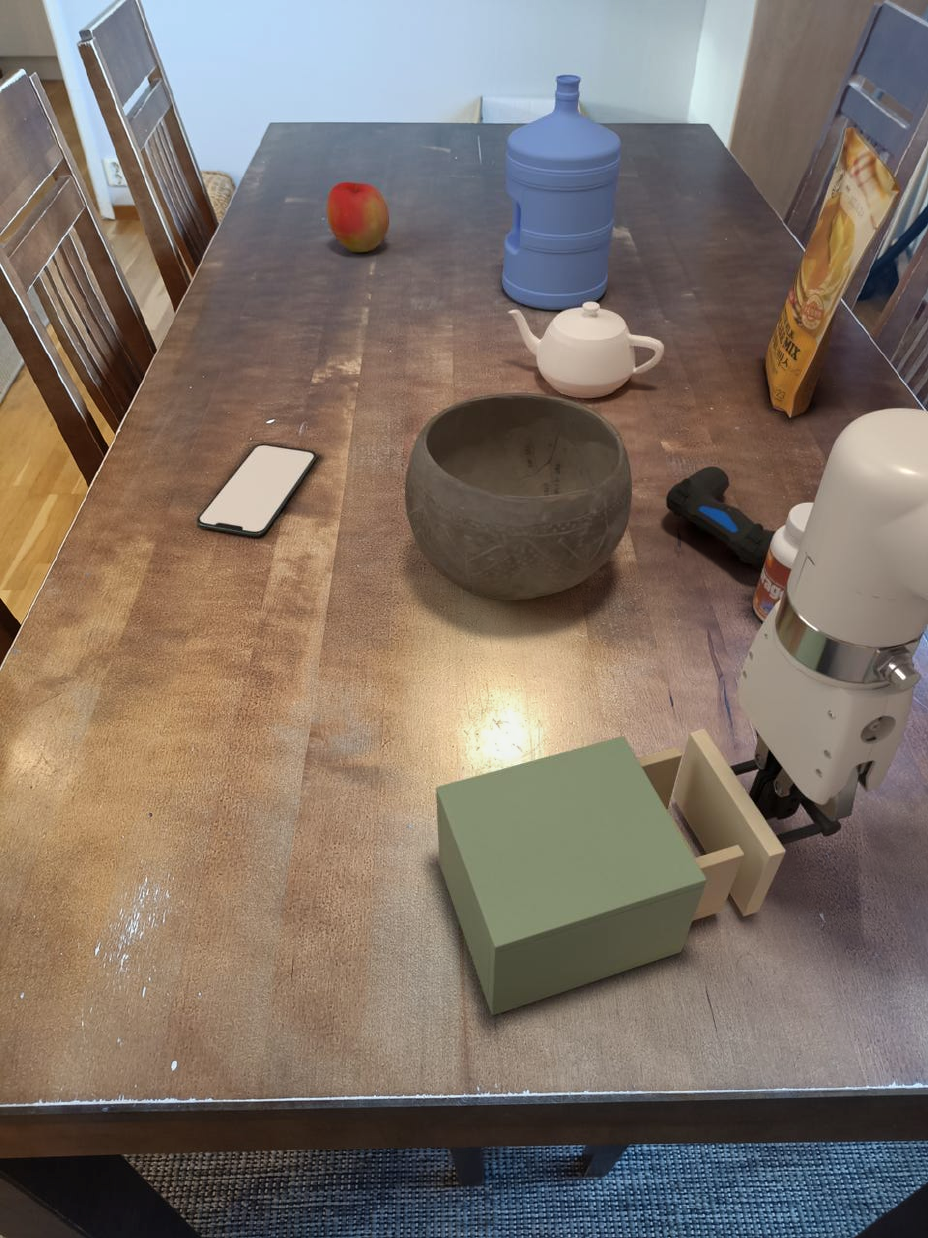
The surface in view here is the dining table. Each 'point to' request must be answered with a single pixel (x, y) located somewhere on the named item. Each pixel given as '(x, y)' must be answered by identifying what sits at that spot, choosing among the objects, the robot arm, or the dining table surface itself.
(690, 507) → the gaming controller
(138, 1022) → the dining table surface
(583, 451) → the bowl
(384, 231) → the apple
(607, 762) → the cabinet
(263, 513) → the smartphone
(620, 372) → the teapot
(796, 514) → the pill bottle
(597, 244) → the water jug
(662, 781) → the drawer
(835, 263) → the pancake mix bag
